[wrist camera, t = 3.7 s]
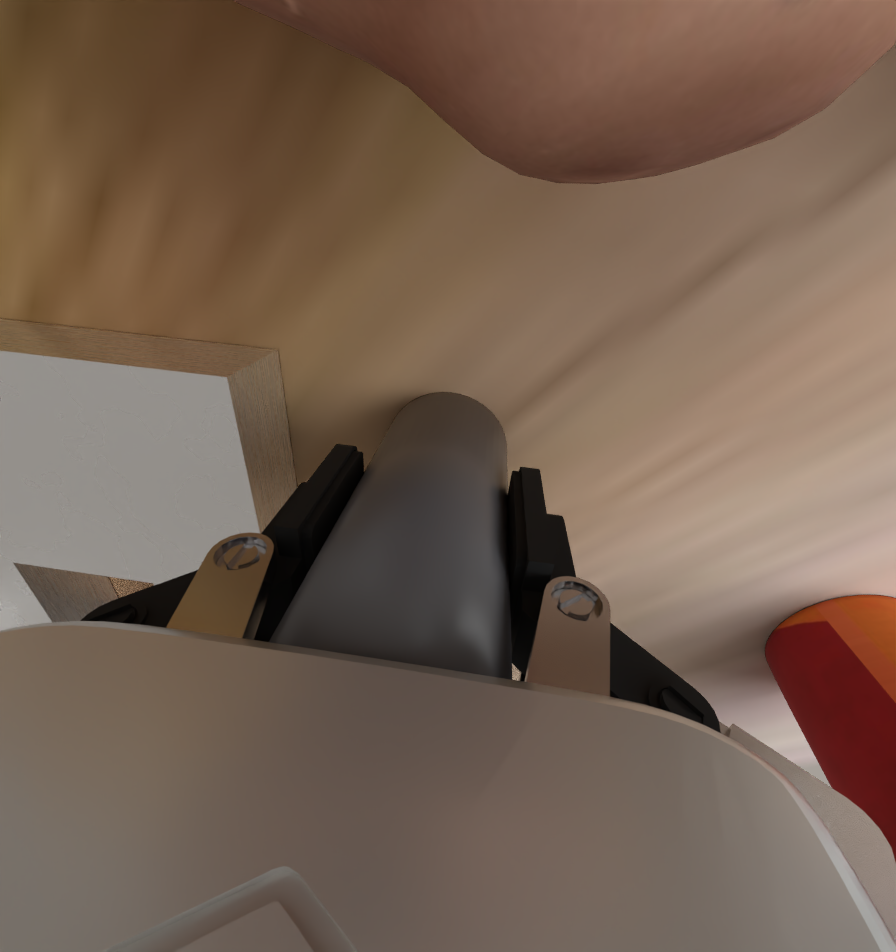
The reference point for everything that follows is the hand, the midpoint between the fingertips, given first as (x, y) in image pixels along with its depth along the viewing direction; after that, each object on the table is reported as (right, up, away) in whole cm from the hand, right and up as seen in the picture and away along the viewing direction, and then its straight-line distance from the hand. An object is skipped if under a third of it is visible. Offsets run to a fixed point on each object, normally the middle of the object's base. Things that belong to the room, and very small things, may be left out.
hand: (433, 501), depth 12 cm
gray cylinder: (0, +2, +3) cm, 3 cm away
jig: (-14, -4, +8) cm, 17 cm away
